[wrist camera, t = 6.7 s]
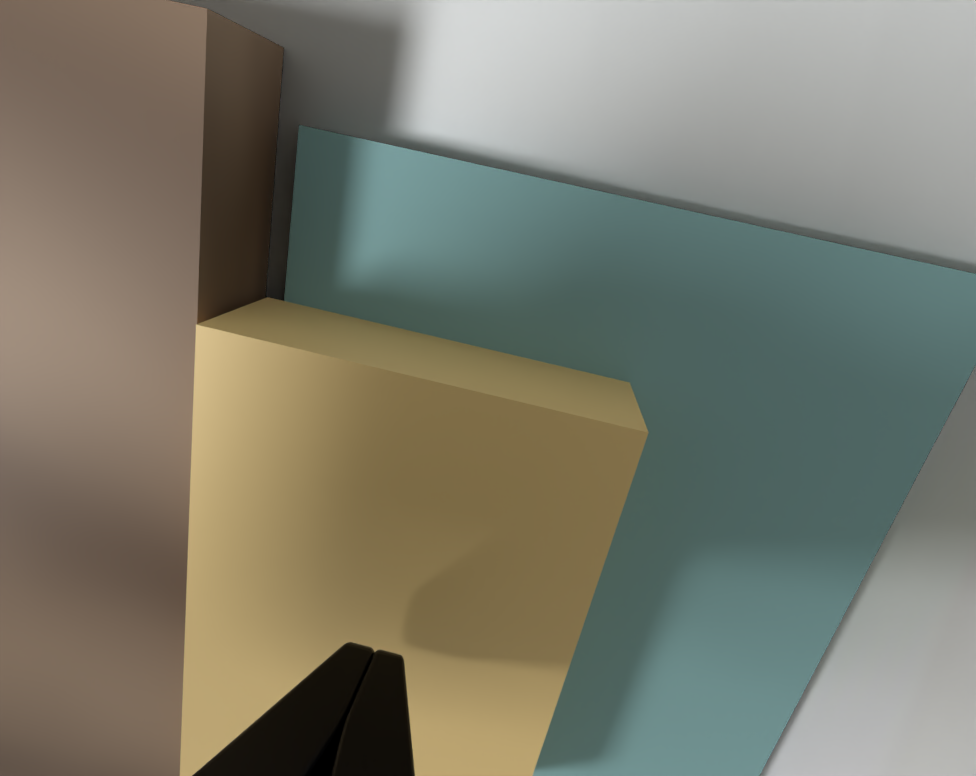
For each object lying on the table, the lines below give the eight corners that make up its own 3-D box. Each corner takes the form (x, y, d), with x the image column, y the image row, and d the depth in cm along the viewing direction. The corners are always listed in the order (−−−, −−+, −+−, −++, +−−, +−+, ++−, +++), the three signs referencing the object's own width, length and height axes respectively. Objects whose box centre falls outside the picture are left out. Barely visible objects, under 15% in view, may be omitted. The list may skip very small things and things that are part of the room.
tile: (506, 773, 12) (498, 878, 10) (235, 701, 12) (179, 793, 11) (630, 382, 9) (648, 433, 7) (267, 297, 9) (196, 324, 8)
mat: (691, 878, 13) (694, 898, 13) (251, 764, 14) (243, 780, 13) (998, 279, 9) (1017, 283, 8) (310, 127, 9) (299, 124, 8)
